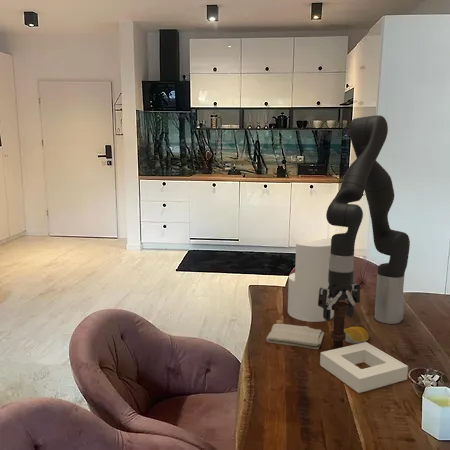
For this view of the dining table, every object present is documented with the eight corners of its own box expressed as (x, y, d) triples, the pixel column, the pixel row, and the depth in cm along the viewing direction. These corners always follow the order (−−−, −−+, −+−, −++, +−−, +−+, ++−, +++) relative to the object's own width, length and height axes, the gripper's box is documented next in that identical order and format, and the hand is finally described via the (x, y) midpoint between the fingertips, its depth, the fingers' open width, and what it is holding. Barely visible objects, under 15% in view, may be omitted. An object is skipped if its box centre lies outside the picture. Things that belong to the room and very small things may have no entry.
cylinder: (343, 315, 180) (347, 242, 174) (310, 325, 170) (313, 248, 165) (311, 301, 194) (313, 234, 188) (278, 310, 184) (280, 239, 179)
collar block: (365, 354, 148) (366, 341, 148) (407, 379, 133) (408, 366, 132) (320, 365, 141) (320, 352, 140) (358, 393, 126) (359, 379, 125)
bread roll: (373, 340, 159) (373, 328, 158) (354, 346, 154) (355, 334, 153) (353, 331, 166) (354, 320, 165) (335, 337, 161) (335, 326, 160)
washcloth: (320, 351, 151) (321, 342, 150) (265, 344, 156) (265, 335, 156) (324, 336, 162) (325, 327, 162) (272, 330, 167) (272, 321, 167)
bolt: (346, 353, 148) (348, 307, 146) (329, 352, 149) (331, 306, 147) (345, 345, 154) (347, 301, 151) (329, 344, 155) (331, 300, 152)
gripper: (351, 262, 153) (348, 310, 156) (314, 267, 147) (312, 317, 150) (367, 268, 146) (364, 319, 149) (329, 273, 141) (326, 325, 144)
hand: (338, 318), depth 150 cm, fingers open, 8 cm apart
